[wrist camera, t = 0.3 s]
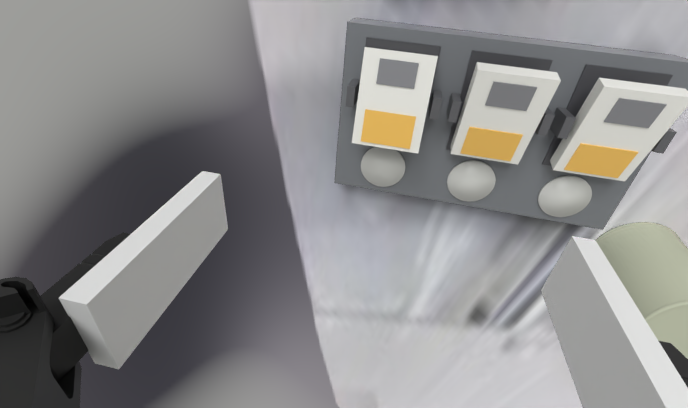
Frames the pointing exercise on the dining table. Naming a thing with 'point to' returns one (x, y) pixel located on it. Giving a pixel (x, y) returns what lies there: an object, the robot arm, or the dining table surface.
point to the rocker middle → (502, 111)
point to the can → (653, 276)
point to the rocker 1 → (393, 99)
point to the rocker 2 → (618, 128)
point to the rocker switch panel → (446, 105)
